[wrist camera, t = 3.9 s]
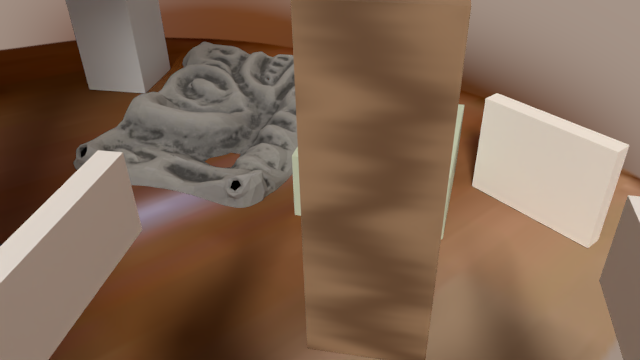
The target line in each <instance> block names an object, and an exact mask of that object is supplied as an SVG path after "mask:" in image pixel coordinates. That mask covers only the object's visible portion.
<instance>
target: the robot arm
mask: <svg viewBox="0 0 640 360" xmlns="http://www.w3.org/2000/svg"><path fill="white" fill-rule="evenodd" d="M141 231H142V227H141V223H140V219H139V215H138V211H137V207H136V203H135V199H134V195H133V191H132V187H131V183H130V179H129V175H128V171H127V167H126V163H125V159H124V155H123V152H112V151H101V150H98V151H97V152H96V153H95V154H94V155H93V156H92V157H91V158H90V159H89V160H88V161H86V162H85V163H84V164H83V165H82V166H81V167H80V168H79V169H78V170H77V171H76V172H75V173H74V174H73V175H72V176H71V177H70V178H69V179H68V180H67V181H66V182H65V183H64V184H63V185H62V186H61V187H60V188H59V189H58V190H57V191H56V192H55V193H54V194H53V195H52V196H51V197H50V198H49V199H48V200H47V201H46V202H45V203H44V204H43V205H42V206H41V207H40V208H39V209H38V210H37V211H36V212H35V213H34V214H33V215H32V216H31V217H30V218H29V219H28V220H27V221H26V222H25V223H24V224H23V225H22V226H21V227H19V228H18V229H17V230H16V231H15V232H14V233H13V234H12V235H11V236H10V237H9V238H8V239H7V240H6V241H5V242H4V243H3V244H0V360H48V359H49V358H50V357H51V355H52V354H53V353H54V351H55V350H56V348H57V347H58V346H59V344H60V343H61V341H62V340H63V339H64V337H65V336H66V335H67V333H68V332H69V330H70V329H71V328H72V326H73V325H74V324H75V322H76V321H77V319H78V318H79V317H80V315H81V314H82V312H83V311H84V310H85V308H86V307H87V306H88V304H89V303H90V301H91V300H92V299H93V297H94V296H95V295H96V293H97V292H98V290H99V289H100V288H101V286H102V285H103V283H104V282H105V281H106V279H107V278H108V277H109V275H110V274H111V272H112V271H113V270H114V268H115V267H116V266H117V264H118V263H119V261H120V260H121V259H122V257H123V256H124V254H125V253H126V252H127V250H128V249H129V248H130V246H131V245H132V243H133V242H134V241H135V239H136V238H137V236H138V235H139V234H140V232H141ZM599 281H600V284H601V287H602V290H603V294H604V297H605V300H606V304H607V307H608V310H609V314H610V317H611V320H612V324H613V327H614V330H615V333H616V337H617V340H618V343H619V347H620V350H621V353H622V357H623V359H624V360H640V197H639V196H628V197H627V200H626V203H625V206H624V209H623V212H622V215H621V218H620V221H619V224H618V227H617V230H616V233H615V236H614V239H613V242H612V245H611V248H610V250H609V253H608V256H607V259H606V262H605V265H604V268H603V271H602V274H601V277H600V280H599Z"/></svg>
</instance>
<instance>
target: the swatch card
mask: <svg viewBox="0 0 640 360" xmlns="http://www.w3.org/2000/svg"><path fill="white" fill-rule="evenodd" d="M628 148H629V145H628V144H625V143H623V142H620V141H618V140H615V139H612V138H610V137H607V136H605V135H602V134H600V133H597V132H595V131H592V130H590V129H587V128H584V127H582V126H580V125H577V124H574V123H572V122H569V121H567V120H564V119H562V118H559V117H556V116H554V115H551V114H549V113H546V112H544V111H541V110H538V109H536V108H534V107H531V106H529V105H526V104H523V103H521V102H518V101H516V100H513V99H511V98H508V97H506V96H503V95H501V94H498V93H496V94H494V95H492V96H490V97H488V98H486V101H485V107H484V113H483V120H482V126H481V132H480V138H479V145H478V151H477V157H476V164H475V170H474V176H473V183H472V186H473V187H475V188H477V189H479V190H480V191H482V192H484V193H486V194H488V195H490V196H492V197H493V198H495V199H497V200H499V201H501V202H503V203H505V204H506V205H508V206H510V207H512V208H514V209H516V210H518V211H519V212H521V213H523V214H525V215H527V216H529V217H531V218H532V219H534V220H536V221H538V222H540V223H542V224H544V225H545V226H547V227H549V228H551V229H553V230H555V231H557V232H558V233H560V234H562V235H564V236H566V237H568V238H569V239H571V240H573V241H575V242H577V243H579V244H581V245H582V246H584V247H586V248H589V247H590V246H591V245H593V244H594V243H595V242H596V241H598V239H599V235H600V232H601V229H602V226H603V223H604V220H605V217H606V214H607V211H608V208H609V205H610V202H611V199H612V196H613V193H614V190H615V187H616V184H617V181H618V178H619V175H620V172H621V169H622V166H623V163H624V160H625V157H626V154H627V151H628Z"/></svg>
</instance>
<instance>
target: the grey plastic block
mask: <svg viewBox="0 0 640 360" xmlns="http://www.w3.org/2000/svg"><path fill="white" fill-rule="evenodd" d="M66 4H67V7H68V11H69V15H70V19H71V23H72V26H73V30H74V34H75V37H76V41H77V45H78V49H79V52H80V56H81V60H82V64H83V67H84V71H85V75H86V78H87V82H88V86H89V89H91V90H105V91H119V92H133V93H146V92H147V91H149V90H150V89H151V88H152V87H153V86H154V85H155V84H156V83H157V82H158V81H159V80H160V79H161V78H162V77H163V76H164V75H165V74H166V73H167V72H168V71H169V70H170V64H169V58H168V52H167V47H166V41H165V36H164V30H163V24H162V19H161V13H160V8H159V2H158V0H66Z"/></svg>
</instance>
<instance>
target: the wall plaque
mask: <svg viewBox="0 0 640 360" xmlns="http://www.w3.org/2000/svg"><path fill="white" fill-rule="evenodd" d="M182 64H183V66H184V68H182V69H180V70H178V71H177V72H175V73H174V74H172V75H171V76H170V78H169V79H168V80H167V82H166V83H165V85H164V87H163V88H162V90H161V91H159V92H158V93H157V92H149V93H144V94H141V95H139V96H137V97H135V98H134V99H133V100H132V102H131V103H130V105H129V107H128V109H127V112H126V114H125V116H124V118H123V120H122V121H121V122H120V123H119V125H118V126H117V127H116V128H114V129H111V130H109V131H107V132H105V133H104V134H102V135H100V136H99V137H97V138H95V139H93V140H91V141H89V142H87V143H85V144H82V145H80V146H79V147H78V148H77V149H76V159H75V161H74V162H73V164H74V166H75V169H77V170H78V169H79V168H80V167H81V166H82V165H83V164H84V163H85V162H86V161H88V160H89V159H90V158H91V157H92V156H93V155H94V154H95V153H96V152H97V151H98V150H101V151H112V152H123V155H124V159H125V163H126V167H127V171H128V175H129V179H130V183H131V185H141V186H151V187H156V188H165V189H169V190H175V191H179V192H182V193H186V194H191V195H193V196H197V197H200V198H203V199H206V200H209V201H212V202H216V203H219V204H222V205H225V206H231V207H237V208H244V207H249V206H252V205H254V204H256V203H258V202H260V201H262V200H263V199H264V197H266V196H267V195H269V194H270V193H272V192H273V191H275V190H276V189H278V188H279V187H280V186H281V185H282V184H283V183H284V182H286V181H287V179H288V178H289V177H290V176H291V175H292V174H293V170H292V155H293V153H294V151H295V150H296V148H297V147H298V141H297V120H296V99H295V78H294V57H293V56H292V55H282V54H279V55H277V56H275V57H270V56H268V55H266V54H265V53H263V52H255V53H252V54H248V53H246V52H245V51H243V50H241V49H239V48H237V47H233V46H224V45H215V44H212V43H208V42H202V43H200V45H198V46H196V47H194V48H192V49H191V50H190V51H189V52H188V54H187V55H186V56H185V57H184V59H183V63H182ZM267 78H269V80H268V79H267ZM191 85H192V86H191ZM230 152H232V153H239V154H241V155H240V157H239V158H238V159H237V160H236V162H235V164H234V165H233V166H232V167H231V168H219V167H214V166H211V165H209V164H207V163H206V162H204V161H206V160H207V159H208V158H211V157H218V156H221V155H225V154H228V153H230ZM235 180H239V182H240V184H241V186H240V187H239V188H238V189H237V190H236V191H234V190H233V189H231V188H230V187H231V184H232V182H233V181H235Z"/></svg>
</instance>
